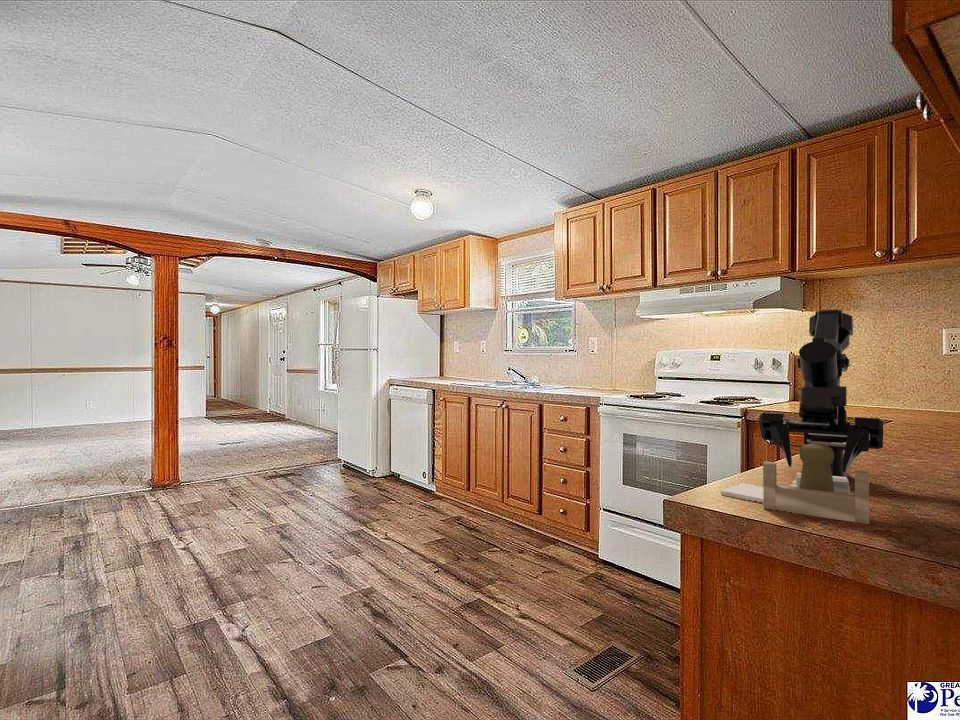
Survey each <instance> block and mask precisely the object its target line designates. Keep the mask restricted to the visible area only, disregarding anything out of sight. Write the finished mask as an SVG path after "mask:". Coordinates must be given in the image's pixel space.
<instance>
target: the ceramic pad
mask: <svg viewBox="0 0 960 720" xmlns="http://www.w3.org/2000/svg"><path fill="white" fill-rule="evenodd" d="M720 495H721V496H725V497H731V498H736V499H739V498H740V500H744V499H745V501H749V500H751V501H750V502H754V501H757V502H756V503H759V502H762V503H761V504H763V486H760V485H755V484H754V485H753V484H748V483H738V484H735V485H732V486H730V487H727V488H723V489H722V490H720Z"/></svg>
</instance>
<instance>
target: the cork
mask: <svg viewBox="0 0 960 720" xmlns="http://www.w3.org/2000/svg"><path fill="white" fill-rule="evenodd" d="M798 452H799V454H798V455H799V458H800V460H801V462H802V466H801V467H802V468H801V472H800V473H801V480H800V487H799V488H802V489H810V490H818V491H826V492H834V493H835V491H834V484H833V478H832V471H831V464H832V462H833V461H834V452H833V450H832V448H831V447H829V446H826V445H821V444H806V445H804V444H803V445H801V447H800V448H799V451H798Z"/></svg>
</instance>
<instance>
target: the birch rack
mask: <svg viewBox="0 0 960 720" xmlns="http://www.w3.org/2000/svg"><path fill="white" fill-rule="evenodd" d="M762 467H763V468H762V475H763V478H762V479H763V481H762V482H763V483H762V484H763V485H762V487H763V503H762V505H763V508H764V510H768V509H772V510H771V511H776V510H779V511H778V512H783V511H786V512H785V513H790V512H792V514H797V513H798V514H797V515H803V514H804V515H805V516H810V517H811V516H812V517H818V518H825V519H830V520H831V519H833V520H840V521H846V522H852V523H856V524H857V523H858V524H865V525H870V472H869V471H865V470H855V471H854V494H843V493H834V492H826V491H818V490H810V489H802V488H793V487H790V486H784V485H778V484H777V462H775V461H767V460H765V461H763V464H762ZM763 508H762V509H763Z"/></svg>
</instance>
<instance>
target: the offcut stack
mask: <svg viewBox="0 0 960 720" xmlns="http://www.w3.org/2000/svg"><path fill="white" fill-rule="evenodd" d="M801 473H802V472H796V475H795V476H796V477H795V479H796V480H793V481H792V482H791V484H790V486H789V487H793V488H799V487H800V480H801ZM832 478H833V484H834V491H835V493H843V494H850V493H851V492H850V491H851V489H850V488H851V487H850V481H849V479H848V477H839V476H832Z"/></svg>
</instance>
